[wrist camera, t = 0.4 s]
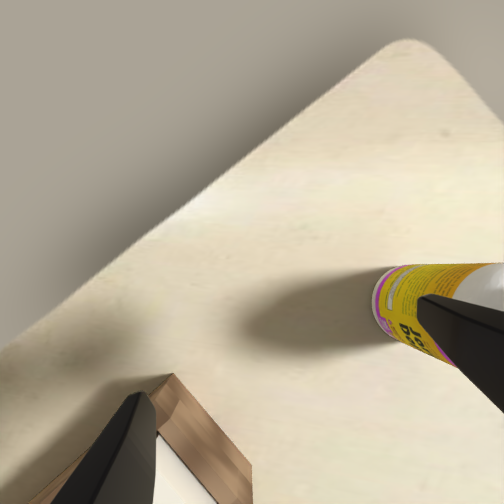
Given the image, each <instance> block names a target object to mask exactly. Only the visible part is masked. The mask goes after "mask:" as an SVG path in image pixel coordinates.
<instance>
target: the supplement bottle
mask: <svg viewBox="0 0 504 504" xmlns="http://www.w3.org/2000/svg"><path fill="white" fill-rule="evenodd" d="M430 293H432V294H436V295H440V296H444V297H448V298H452V299H456V300H460V301H464V302H468V303H472V304H476V305H480V306H484V307H488V308H492V309H496V310H500V311H504V263H476V264H415V265H402V266H398V267H395V268H393V269H391V270H389V271H388V272H386V273H385V274H384V275H383V276H382V277H381V278H380V279H379V280H378V282H377V283H376V285H375V288H374V291H373V294H372V310H373V314H374V317H375V319H376V321H377V323H378V324H379V326H380V327H381V328H382V329H383V330H384V331H385V332H386V333H387V334H388V335H390V336H391V337H393V338H394V339H396V340H398V341H400V342H402V343H405V344H407V345H409V346H411V347H413V348H415V349H417V350H419V351H422V352H424V353H426V354H428V355H430V356H433V357H435V358H437V359H439V360H441V361H443V362H445V363H448V364H450V365H452V366H454V367H456V366H455V365H454V363H453V362H452V361H451V360H450V359H449V358H448V357H447V356H446V354H445V353H444V352H443V351H442V350H441V349H440V347H439V346H438V345H437V344H436V343H435V341H434V340H433V339H432V338H431V337H430V336H429V334H428V333H427V332H426V331H425V330H424V329H423V327H422V326H421V325H420V324H419V322H418V320H417V316H416V314H417V299H418V297H420V296H423V295H426V294H430ZM456 368H457V367H456Z"/></svg>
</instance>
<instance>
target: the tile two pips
mask: <svg viewBox="0 0 504 504" xmlns="http://www.w3.org/2000/svg"><path fill="white" fill-rule="evenodd" d="M153 504H217V500H216V499H215V498H214V497H213V496H212V494H211V493H210V492H209V491H208V490H207V488H206V487H205V486H204V485H203V484H202V482H201V481H200V480H199V479H198V478H197V476H196V475H195V474H194V473H193V472H192V471H191V469H190V468H189V467H188V466H187V465H186V463H185V462H184V461H183V460H182V459H181V457H180V456H179V455H178V454H177V453H176V451H175V450H174V449H173V448H172V447H171V446H170V444H169V443H168V442H167V441H166V440H165V438H164V437H163V436H162V435H161V434H160V432H159V433H158V434H157V435H156V476H155V487H154V497H153Z"/></svg>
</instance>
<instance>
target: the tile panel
mask: <svg viewBox="0 0 504 504" xmlns="http://www.w3.org/2000/svg"><path fill="white" fill-rule="evenodd" d="M148 397H149V398H150V400H151V402H152V403H153V405H154V407H155V410H156V435H157V434H158V433H159V432H160V434H161V435H162V436H163V437H164V438H165V440H166V441H167V442H168V443H169V444H170V446H171V447H172V448H173V449H174V450H175V451H176V453H177V454H178V455H179V456H180V457H181V459H182V460H183V461H184V462H185V463H186V465H187V466H188V467H189V468H190V469H191V471H192V472H193V473H194V474H195V475H196V476H197V478H198V479H199V480H200V481H201V482H202V484H203V485H204V486H205V487H206V488H207V490H208V491H209V492H210V493H211V494H212V496H213V497H214V498H215V499H216V500H217V504H253V493H252V465H251V464H250V463H249V462H248V460H247V459H246V458H245V457H244V456H243V454H242V453H241V452H240V451H239V450H238V449H237V447H236V446H235V445H234V444H233V443H232V442H231V440H230V439H229V438H228V437H227V436H226V434H225V433H224V432H223V431H222V430H221V429H220V427H219V426H218V425H217V424H216V423H215V422H214V420H213V419H212V418H211V417H210V416H209V414H208V413H207V412H206V411H205V410H204V409H203V407H202V406H201V405H200V404H199V403H198V402H197V400H196V399H195V398H194V397H193V396H192V394H191V393H190V392H189V391H188V390H187V389H186V387H185V386H184V385H183V384H182V383H181V382H180V380H179V379H178V378H177V377H176V376H175V374H174V373H173V374H172V375H171V376H169V377H168V378H167V379H166V380H165V381H164V382H163V383H162V384H161V385H159V386H158V387H157V388H156V389H155V390H154V391H153V392H152V393H150V394H149V395H148ZM90 448H91V447H90ZM90 448H89V449H90ZM89 449H88V450H89ZM88 450H87V451H86V452H84V453H83V454H82V455H81V456H80V457H79V458H78V459H77V460H76V461H74V462H73V463H72V464H71V465H70V466H69V467H68V468H67V469H65V470H64V471H63V472H62V473H61V474H60V475H59V476H58V477H57V478H55V479H54V480H53V481H52V482H51V483H50V484H49V485H48V486H46V487H45V488H44V489H43V490H42V491H41V492H40V493H39V494H38V495H36V496H35V497H34V498H33V499H32V500H31V501H30V502H29V503H27V504H50V503H51V501H52V500H53V499H54V497H55V496H56V494H57V493H58V492H59V490H60V489H61V488H62V486H63V485H64V483H65V482H66V481H67V479H68V478H69V476H70V475H71V474H72V472H73V471H74V470H75V468H76V467H77V465H78V464H79V463H80V461H81V460H82V459H83V457H84V456H85V454H86V453H87V452H88Z"/></svg>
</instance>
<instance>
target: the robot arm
mask: <svg viewBox="0 0 504 504" xmlns="http://www.w3.org/2000/svg"><path fill="white" fill-rule="evenodd" d="M416 316H417V320H418V322H419V324H420V325H421V326H422V327H423V329H424V330H425V331H426V332H427V333H428V334H429V336H430V337H431V338H432V339H433V340H434V341H435V343H436V344H437V345H438V346H439V347H440V349H441V350H442V351H443V352H444V353H445V354H446V356H447V357H448V358H449V359H450V360H451V361H452V362H453V363H454V365H455V366H456V367H457V368H458V369H459V370H460V371H461V372H462V373H463V374H464V375H465V376H466V377H467V378H468V379H469V380H470V381H471V382H472V383H473V384H474V385H475V386H476V387H477V388H478V389H480V390H481V391H482V392H483V393H484V394H485V395H486V396H487V397H488V398H489V399H490V400H491V401H492V402H493V403H494V404H495V405H496V406H497V407H498V408H499V409H500V410H501V411H502V412H503V413H504V311H500V310H496V309H492V308H488V307H484V306H480V305H476V304H472V303H468V302H464V301H460V300H456V299H452V298H448V297H444V296H440V295H436V294H432V293H430V294H426V295H423V296H420V297H418V299H417V314H416ZM155 476H156V410H155V407H154V405H153V403H152V402H151V400H150V398H149V397H148V395H147V394H146V392H145V391H143V390H142V391H138V392H135V393H132V394H130V395H129V396H128V397H127V398H126V399H125V401H124V402H123V403H122V405H121V406H120V408H119V409H118V410H117V412H116V413H115V414H114V416H113V417H112V419H111V420H110V421H109V423H108V424H107V425H106V427H105V428H104V430H103V431H102V432H101V434H100V435H99V436H98V438H97V439H96V441H95V442H94V443H93V445H92V446H91V448H90V449H89V450H88V452H87V453H86V454H85V456H84V457H83V459H82V460H81V461H80V463H79V464H78V465H77V467H76V468H75V470H74V471H73V472H72V474H71V475H70V476H69V478H68V479H67V481H66V482H65V483H64V485H63V486H62V488H61V489H60V490H59V492H58V493H57V494H56V496H55V497H54V499H53V500H52V501H51V503H50V504H153V497H154V487H155Z"/></svg>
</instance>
